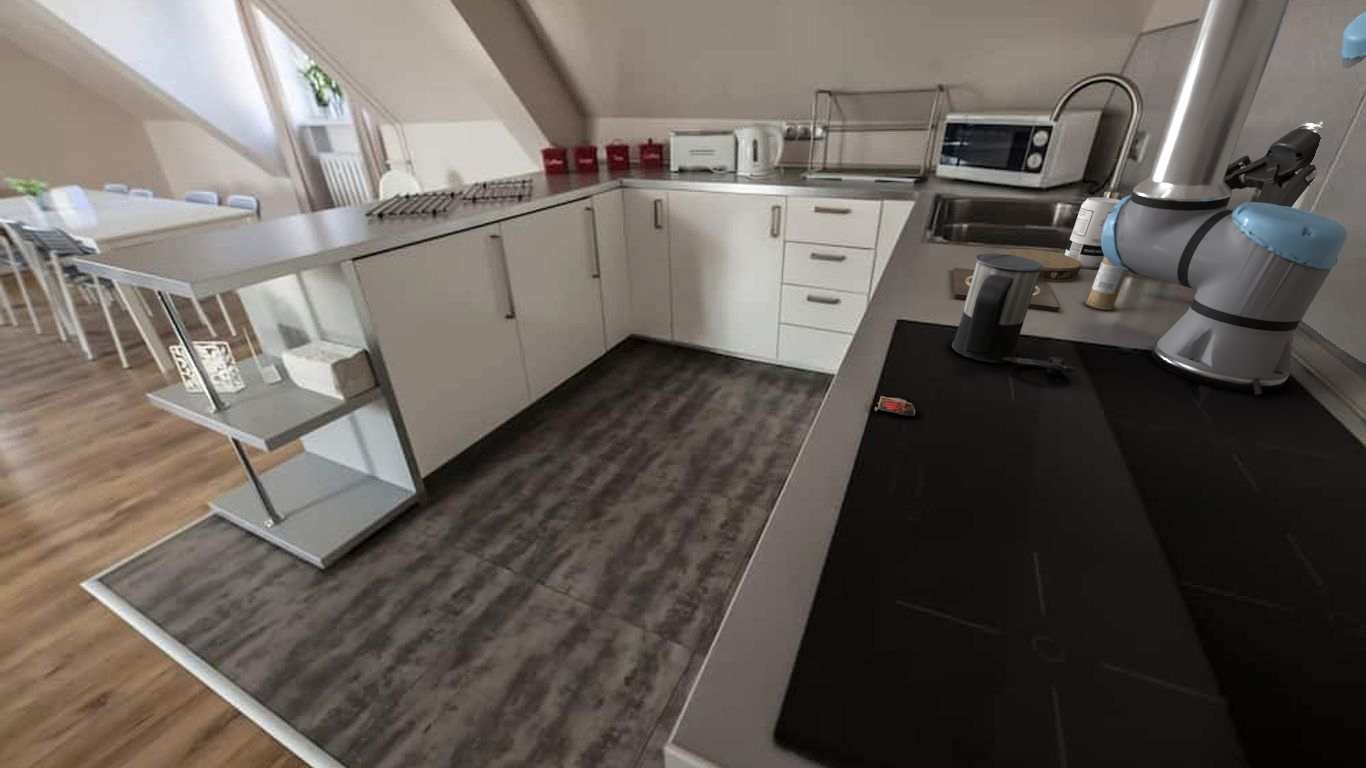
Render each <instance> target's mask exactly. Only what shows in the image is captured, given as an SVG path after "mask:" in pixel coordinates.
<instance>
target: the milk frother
mask: <svg viewBox="0 0 1366 768" xmlns="http://www.w3.org/2000/svg"><path fill="white" fill-rule="evenodd" d="M975 260H976V264H975V267H974V269H973V270H974V274H973V277H972V281H971V284H970V288H969V291H968V295H967V299H966V300H965V303H964V307H963V311H962V313H961V317H960V322H959V324H958V328H957V330H956V333H955V336H954V340H952V343H951V347H952V349H953V350H954V351H955V352H957V353H958V354H960V355H962V356H963V357H967V358H969V359H971V360H972V359H973V360H975V361H979V362H982V363H992V364H993V363H994V364H1004V363H1014V364H1018V365H1024V366H1028V367H1033V368H1034V367H1035V368H1041V369H1046V374H1047V375H1049V376H1050V375H1051V376H1061V375H1062V374H1063V372H1065V373H1074V372H1075V369H1076V367H1074V366H1071V365H1068V364H1065V359H1064V358H1062V357H1057V356H1056V357H1055V356H1051V357H1049V358H1048V360H1042V359H1035V358H1022V357H1016V349H1017V346H1018V343H1019V338H1020V336H1021V331H1022V329H1023V325H1024V322H1025V319H1026V316H1027V313H1028V311H1029V308H1028V307H1029V304H1030V301H1031V298H1032V295H1033V292H1034V289H1035V286H1036V283H1037V280H1038V277H1039V274H1040V271H1041V270H1042V269H1044V265H1043V264H1042V263H1041V262H1038V261H1036V260H1033V259H1030V258H1026V257H1021V256H1014V255H1009V254H1002V253H997V252H990V253H988V252H987V253H979V254H977V255H976V256H975Z"/></svg>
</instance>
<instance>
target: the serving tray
mask: <svg viewBox="0 0 1366 768" xmlns="http://www.w3.org/2000/svg"><path fill="white" fill-rule="evenodd" d="M974 270H975V269H972V268H963V267H953V270H952V273H953V274H952V275H953V291H954V293H953V294H954V300H962V301H966V299H967V295H968V291H969V288H970V284H971V281H972V277H973V274H974ZM1028 309H1032V310H1037V311H1046V312H1052V313H1053V312H1054V313H1058V312H1059V309H1060V305H1059V304H1058V301H1057V300H1056V297H1055V296H1054V294H1053V293H1052V291H1051V288H1050V287H1049V285H1048V283H1047V281H1045V279H1044V278H1042V277H1038V280H1037V283H1036V286H1035V289H1034V292H1033V295H1032V298H1031V301H1030V304H1029V307H1028Z"/></svg>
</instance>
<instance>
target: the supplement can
mask: <svg viewBox="0 0 1366 768" xmlns="http://www.w3.org/2000/svg"><path fill="white" fill-rule="evenodd" d="M1120 200H1121V199H1116V198H1112V197H1111V198H1110V197H1101V196H1100V197H1099V196H1098V197H1097V196H1094V197H1093V196H1091V197H1087V198H1086V200H1085V201H1083V203H1082V204H1081V205H1080V208H1079V211H1078V215H1077V216H1076V217H1077V218H1076V220H1075V223H1074V226H1073V229H1072V232H1071V235H1070V237H1069V241H1068V243H1067V247H1066V249H1065V253H1064V255H1066V256H1069V257H1072V258H1075V259H1077V260H1078V261H1080V262H1081V267H1080V269H1099V268H1100V265H1101V263H1102V261H1103V258H1104V254H1103V251H1102V247H1101V235H1102V230H1103V226H1104V223H1105V221H1106V218H1107V217H1108V215H1109V214H1110V213H1113V207H1114V206H1115V205H1116V204H1117V203H1118V202H1119V201H1120Z"/></svg>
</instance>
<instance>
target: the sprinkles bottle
mask: <svg viewBox="0 0 1366 768" xmlns="http://www.w3.org/2000/svg"><path fill="white" fill-rule="evenodd" d="M1127 272H1128V271H1127V270H1126V269H1123V268H1120V267H1117V266H1114V265H1113V264H1111V263H1110V262H1109V261H1108V259H1107V258H1106V257H1105V256H1104V258H1103V261H1102V263H1101V265H1100V267H1099V268H1098V271H1097V273H1096V276H1095V278H1094V281H1093V284H1092V287H1091V290H1090V293H1089V295H1088V298H1087V300H1086V302H1085V304H1086V305H1087V306H1088V307H1089V308H1092V309H1096V310H1101V311H1110V310H1113V309H1114V308H1115V303H1116V300H1117V298H1118V295H1119V293H1120V291H1121V289H1122V287H1123V284H1124V282H1125V279H1126V275H1127Z"/></svg>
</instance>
